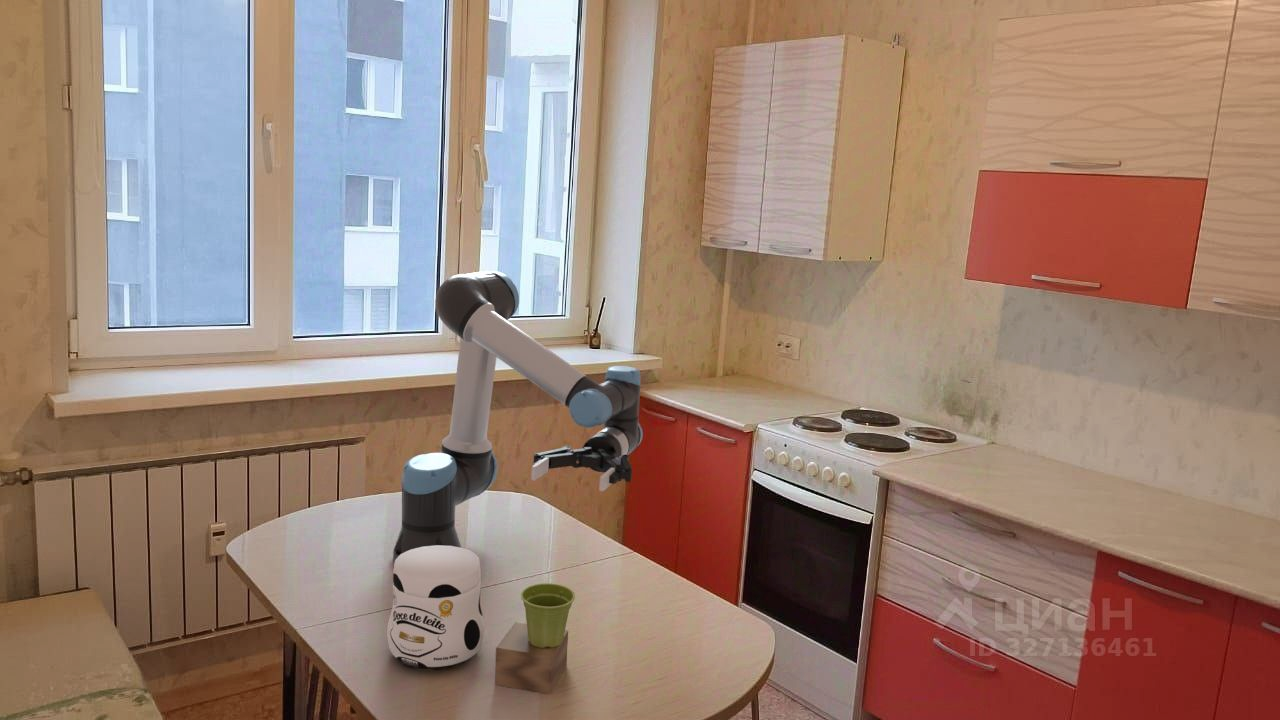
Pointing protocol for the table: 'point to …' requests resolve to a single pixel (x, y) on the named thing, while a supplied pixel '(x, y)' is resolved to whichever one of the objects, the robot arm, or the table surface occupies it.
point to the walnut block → (528, 662)
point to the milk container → (436, 607)
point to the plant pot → (547, 613)
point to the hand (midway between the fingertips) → (566, 478)
